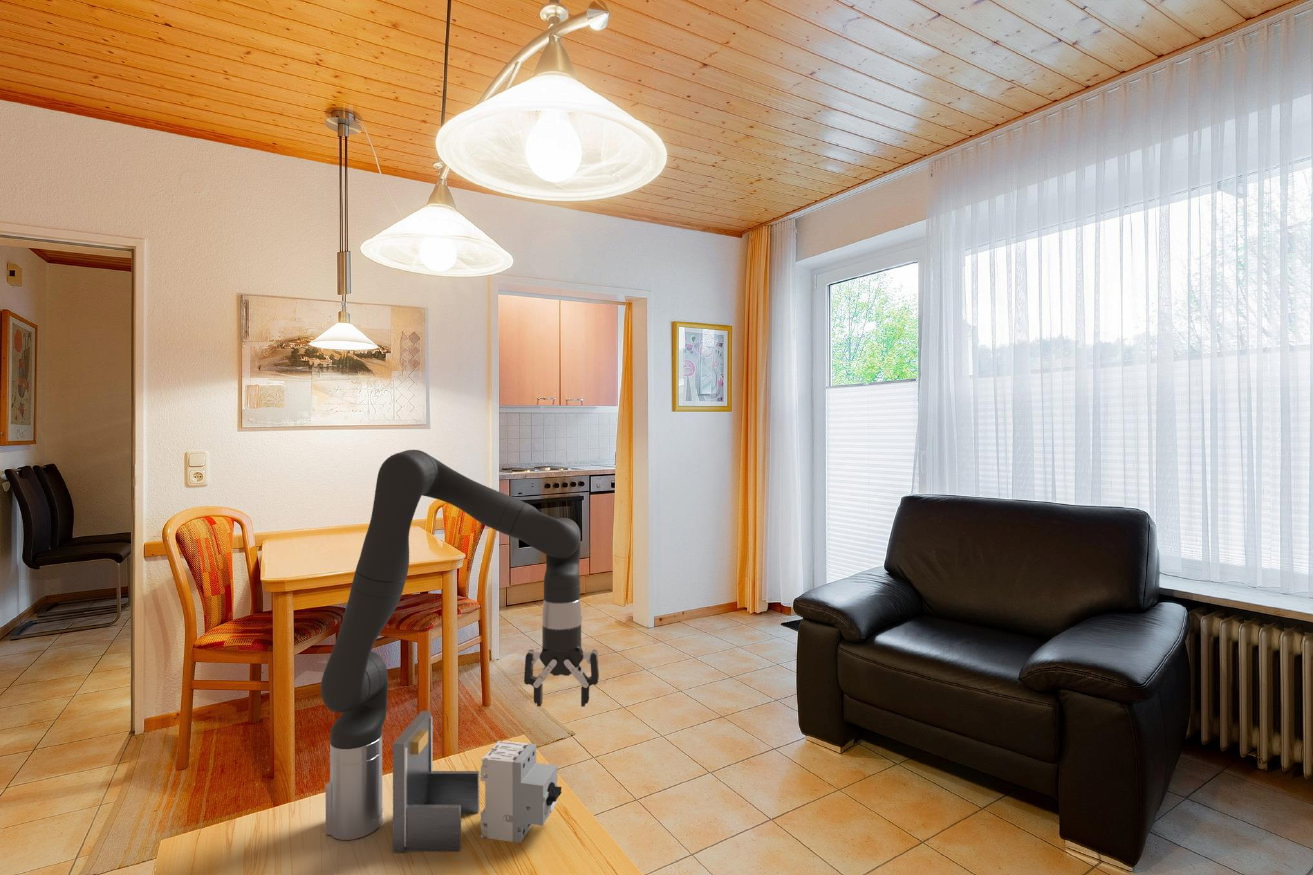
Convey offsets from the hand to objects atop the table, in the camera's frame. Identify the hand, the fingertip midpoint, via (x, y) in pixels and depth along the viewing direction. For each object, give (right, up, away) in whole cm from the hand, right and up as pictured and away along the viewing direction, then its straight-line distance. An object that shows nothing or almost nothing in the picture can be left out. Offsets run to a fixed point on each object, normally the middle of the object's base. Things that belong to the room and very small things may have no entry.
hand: (561, 704), depth 125 cm
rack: (-25, -24, -1) cm, 34 cm away
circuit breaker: (-7, -24, -1) cm, 25 cm away
